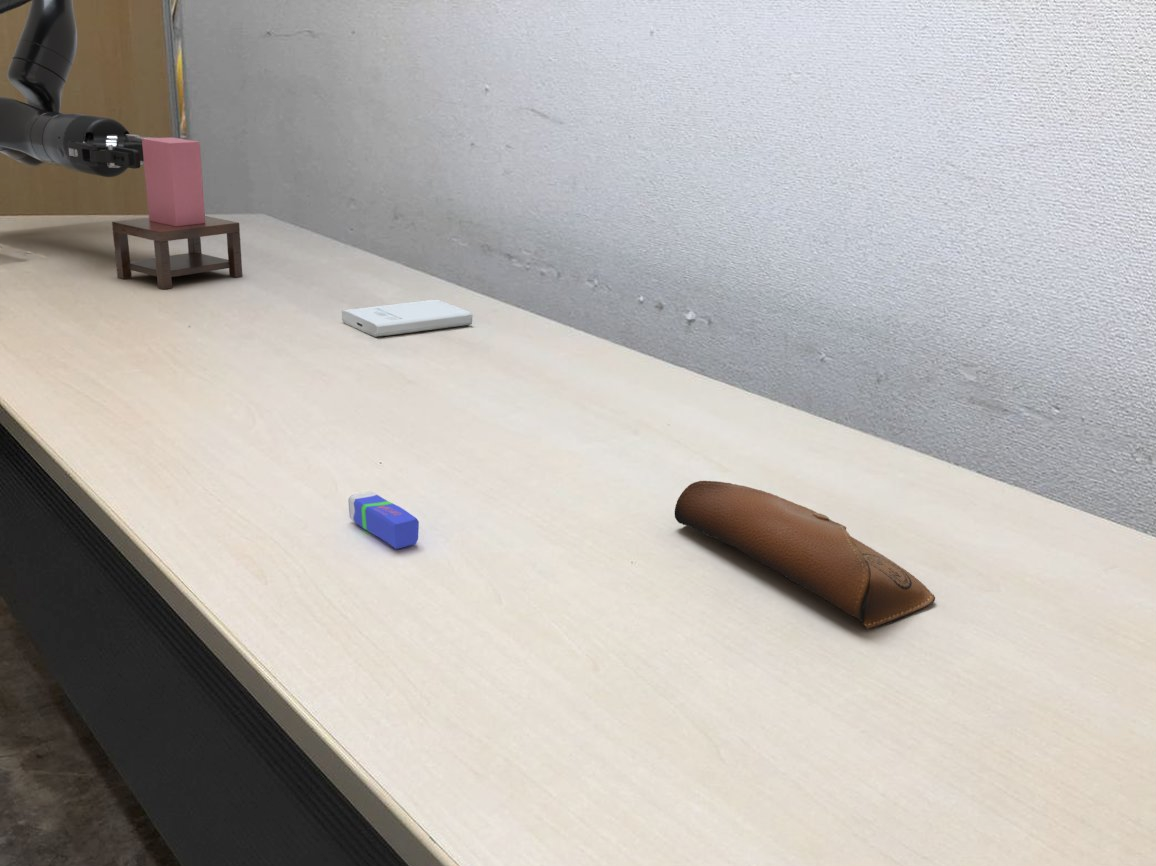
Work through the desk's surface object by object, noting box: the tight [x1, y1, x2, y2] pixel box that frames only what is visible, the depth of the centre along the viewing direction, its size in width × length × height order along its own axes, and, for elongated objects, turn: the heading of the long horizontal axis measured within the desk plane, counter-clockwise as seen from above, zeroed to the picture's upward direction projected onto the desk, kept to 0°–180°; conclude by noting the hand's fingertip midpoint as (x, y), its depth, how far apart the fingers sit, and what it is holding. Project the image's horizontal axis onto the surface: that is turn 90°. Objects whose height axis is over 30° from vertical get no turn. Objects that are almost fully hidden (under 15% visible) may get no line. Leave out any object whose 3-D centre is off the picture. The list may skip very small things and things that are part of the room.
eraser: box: [347, 490, 420, 550], centre depth 76 cm, size 2×6×2 cm, turn 42°
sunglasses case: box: [674, 480, 936, 630], centre depth 76 cm, size 18×7×7 cm
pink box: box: [142, 136, 206, 227], centre depth 140 cm, size 4×5×10 cm
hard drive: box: [341, 299, 473, 338], centre depth 130 cm, size 2×8×12 cm
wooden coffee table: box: [111, 215, 243, 290], centre depth 143 cm, size 12×9×7 cm
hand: (167, 158), depth 142 cm, fingers open, 8 cm apart
